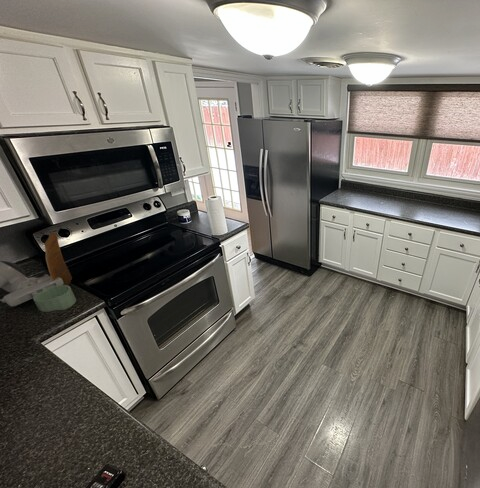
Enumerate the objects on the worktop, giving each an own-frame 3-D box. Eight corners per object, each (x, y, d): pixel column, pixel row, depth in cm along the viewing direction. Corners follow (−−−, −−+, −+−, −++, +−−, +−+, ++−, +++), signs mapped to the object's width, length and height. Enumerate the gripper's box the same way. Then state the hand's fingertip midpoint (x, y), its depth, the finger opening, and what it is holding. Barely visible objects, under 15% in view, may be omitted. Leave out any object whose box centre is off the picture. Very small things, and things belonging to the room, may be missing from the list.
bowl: (32, 315, 120) (24, 301, 116) (56, 298, 131) (50, 285, 128) (62, 315, 121) (54, 301, 117) (83, 298, 132) (77, 285, 129)
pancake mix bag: (79, 274, 151) (60, 229, 139) (67, 292, 136) (45, 243, 124) (64, 277, 148) (43, 231, 136) (50, 295, 133) (25, 246, 121)
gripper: (-6, 294, 119) (12, 301, 115) (49, 272, 136) (67, 277, 132) (1, 305, 122) (19, 313, 118) (54, 282, 139) (72, 288, 135)
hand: (45, 294), depth 125 cm, fingers closed, pressing on bowl
